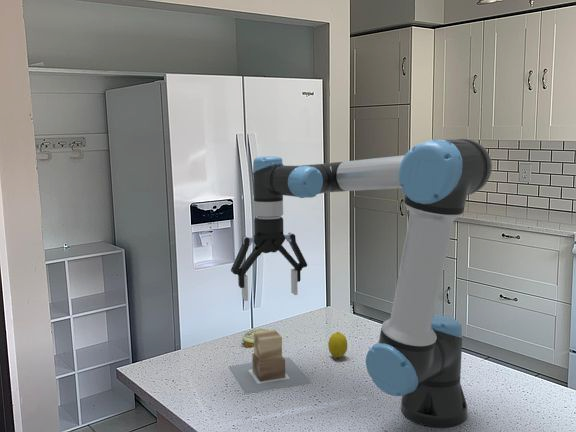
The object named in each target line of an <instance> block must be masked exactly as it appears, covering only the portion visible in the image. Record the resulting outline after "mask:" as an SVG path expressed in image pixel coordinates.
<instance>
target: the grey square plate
mask: <svg viewBox="0 0 576 432" xmlns="http://www.w3.org/2000/svg"><path fill="white" fill-rule="evenodd" d="M283 358H284V359H285V378H279V379H273V380H267V381H261V382H260V381H259V379H258V378H257V376H256V375H255V374H254V372H253V362H248V363H247V362H246V363H242V364H236V365H228V366H227V367H228V368H229V370H230V372H231V373H232V375H233V377H234V378H235V379H236V382H237V383H238V385H239V386H240V388H241V390H242V391H243V393H244V394H245V395H248V394H254V393H260V392H261V393H262V392H266V391H271V390H272V391H273V390H279V389H285V388H291V387H297V386H303V385H309V384H313V382H312V381H311V380H310V378H309V377H308V376H307V375H306V374H305V373H304V372H303V370H301V368H300V367H299V366H298V364H296V363H295V361H293V359H292V358H291V357H289V356H288V357H283Z"/></svg>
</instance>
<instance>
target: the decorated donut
mask: <svg viewBox="0 0 576 432" xmlns="http://www.w3.org/2000/svg"><path fill="white" fill-rule="evenodd" d="M268 330H269V329H267V328H255V329H251V330H249V331H247V332H246V333H245V334H244V335H243V336H242V338H241V341H242V342H243V344H244V346H245V347H246V348H248V349H251V348H254V332H260V331H268Z"/></svg>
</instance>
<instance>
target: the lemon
mask: <svg viewBox="0 0 576 432" xmlns="http://www.w3.org/2000/svg"><path fill="white" fill-rule="evenodd" d="M347 340H348V339H347V338H346V335H344V333H341V332H339V331H336V332H334V333H332V335H330V337H329V340H328V350H329V353H330V354H331V355H332V356H333V357H335V358H336V359H340V358H341V357H343V356H344V355H345V354H346V353H347V350H348V341H347Z"/></svg>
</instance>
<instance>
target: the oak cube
mask: <svg viewBox="0 0 576 432" xmlns="http://www.w3.org/2000/svg"><path fill="white" fill-rule="evenodd" d="M253 353H254V354H255V355H256V357H257V358H258V359H259V361H260V362H263V361H270V360H277V359H282V356H283V337H282V336H281V335H280V334H279V332H278V331H277V330H276V329H268V331H260V332H254V347H253Z"/></svg>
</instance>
